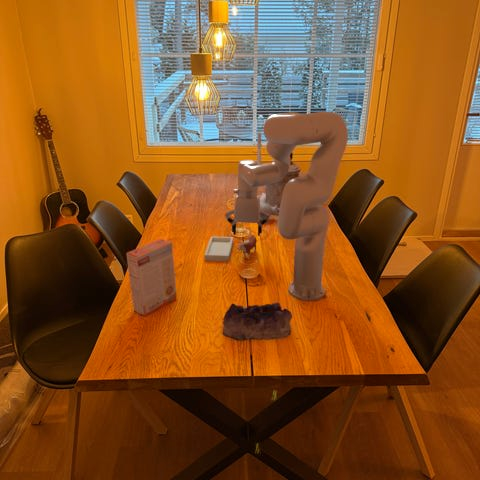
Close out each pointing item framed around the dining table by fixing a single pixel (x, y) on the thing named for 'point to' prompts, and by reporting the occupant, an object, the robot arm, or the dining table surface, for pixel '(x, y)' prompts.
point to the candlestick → (259, 149)
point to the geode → (257, 322)
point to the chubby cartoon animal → (268, 210)
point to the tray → (219, 249)
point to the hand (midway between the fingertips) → (246, 234)
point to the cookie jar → (279, 186)
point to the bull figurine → (248, 245)
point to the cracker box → (151, 276)
